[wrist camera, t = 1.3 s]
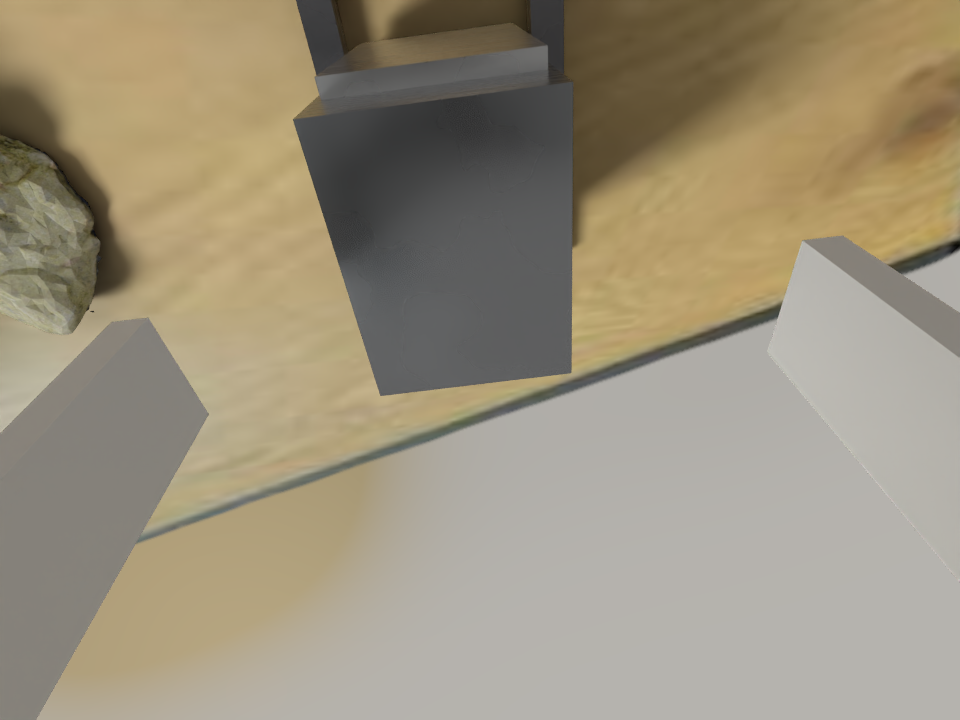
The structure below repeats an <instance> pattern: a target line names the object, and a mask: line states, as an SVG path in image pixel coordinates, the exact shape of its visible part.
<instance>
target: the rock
mask: <svg viewBox="0 0 960 720" xmlns="http://www.w3.org/2000/svg"><path fill="white" fill-rule="evenodd" d="M57 166H58V165H57V163H56V162H55V163H54V161H52V160H51V159H50V158H49V157H48V156H47V154H46V153H45V152H41V151H40V150H39V149H35V148H32V147H30V146H28V145H26V144H24V143H22V142H21V141H19V140H15V139H10V138H7V137H5V136H2V135H0V313H2V314H5V315H7V316H9V317H11V318H13V319H15V320H17V321H19V322H22V323H24V324H27V325H30V326H33V327H37V328H38V329H40V330H42V331H44V332H47V333H53V334H59V335H65V334H71V333H73V331H74V330H75V329H76V327H77V326H78V324H79V323H80V321H81V319H82V318H83V316H84V314H85V312H86V311H87V310H89V305H90V304H91V302H92V299H93V297H94V292H95V284H96V280H97V274H98V271H99V269H98V265H97V264H98V262H99V261H100V260H101V257H100V256H98V255H97V254H98V252H99V251H100V243H101V242H100V241H99V239H98V238H96V234H95V231H94V230H93V225H94V220H95V219H94V217H93V213H92V211H91V209H90V206H88V202H86V201H85V200H84V199H83V198H82V197H80V196H79V195H78V194H77V193H76V191H75V190H74V189H73V188H72V187H71V186H70V184H69V182H68V180H67V178H66V176H65V175H64V174H63V171H61V170H58V167H57ZM90 312H94V311H90Z"/></svg>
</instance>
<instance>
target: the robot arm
mask: <svg viewBox="0 0 960 720" xmlns="http://www.w3.org/2000/svg"><path fill="white" fill-rule="evenodd" d="M767 353H768V354H769V355H770V357H771V358H772V359H773V360H774V361H775V363H776V364H777V365H778V366H779V367H780V369H781V370H782V371H783V372H784V373H785V375H786V376H787V377H788V378H789V379H790V381H791V382H792V383H793V384H794V385H795V386H796V388H797V389H798V390H799V391H800V392H801V394H802V395H803V396H804V397H805V398H806V400H807V401H808V402H809V403H810V404H811V405H812V407H813V408H814V409H815V410H816V411H817V413H818V414H819V415H820V416H821V417H822V419H823V420H824V421H825V422H826V423H827V425H828V426H829V427H830V428H831V429H832V431H833V432H834V433H835V434H836V435H837V437H838V438H839V439H840V440H841V441H842V443H843V444H844V445H845V446H846V447H847V449H848V450H849V451H850V452H851V453H852V454H853V456H854V457H855V458H856V459H857V460H858V462H859V463H860V464H861V465H862V466H863V468H864V469H865V470H866V471H867V472H868V474H869V475H870V476H871V477H872V478H873V479H874V481H875V482H876V483H877V484H878V485H879V487H880V488H881V489H882V490H883V491H884V493H885V494H886V495H887V496H888V497H889V499H890V500H891V501H892V502H893V503H894V505H895V506H896V507H897V508H898V509H899V511H900V512H901V513H902V514H903V515H904V517H905V518H906V519H907V520H908V521H909V522H910V524H911V525H912V526H913V527H914V528H915V530H917V532H918V533H919V534H920V536H921V537H922V538H923V539H924V540H925V542H926V543H927V544H928V545H929V546H930V548H931V549H932V550H933V551H934V552H935V553H936V555H937V556H938V557H939V558H940V559H941V561H942V562H943V563H944V564H945V565H946V566H947V568H948V569H949V570H950V571H951V573H952V574H953V575H954V576H955V577H956V579H957V580H958V581H959V582H960V313H959V312H958V311H956V310H955V309H953V308H952V307H950V306H949V305H947V304H945V303H944V302H942V301H941V300H939V299H938V298H936V297H935V296H933V295H932V294H930V293H929V292H927V291H926V290H924V289H923V288H921V287H920V286H918V285H917V284H915V283H914V282H912V281H911V280H909V279H908V278H906V277H905V276H903V275H902V274H900V273H899V272H897V271H896V270H894V269H892V268H891V267H889V266H888V265H886V264H885V263H883V262H882V261H880V260H879V259H877V258H876V257H874V256H873V255H871V254H870V253H868V252H867V251H865V250H864V249H862V248H861V247H859V246H858V245H856V244H855V243H853V242H852V241H850V240H849V239H847V238H845V237H844V236H835V237H827V238H818V239H810V240H802V243H801V247H800V250H799V253H798V256H797V259H796V262H795V266H794V269H793V272H792V275H791V278H790V282H789V285H788V288H787V291H786V294H785V297H784V301H783V304H782V307H781V310H780V313H779V316H778V320H777V323H776V326H775V329H774V332H773V336H772V339H771V342H770V345H769V348H768V352H767ZM208 415H209V414H208V412H207V411H206V409H205V408H204V406H203V404H202V403H201V401H200V400H199V398H198V396H197V395H196V393H195V392H194V390H193V388H192V387H191V385H190V384H189V382H188V380H187V379H186V377H185V376H184V374H183V372H182V371H181V369H180V368H179V366H178V364H177V363H176V361H175V360H174V358H173V357H172V355H171V353H170V352H169V350H168V349H167V347H166V345H165V344H164V342H163V341H162V339H161V337H160V336H159V334H158V333H157V331H156V329H155V328H154V326H153V325H152V323H151V321H150V320H149V318H141V319H132V320H124V321H115V322H111V323H110V324H109V325H108V326H107V327H106V328H105V329H104V330H103V331H102V332H101V333H100V334H99V335H98V336H97V337H96V338H95V339H94V340H93V341H92V342H91V343H90V344H89V345H88V346H87V347H86V348H85V349H84V350H83V351H82V352H81V353H80V354H79V355H78V356H77V357H76V358H75V359H74V360H73V361H72V362H71V363H70V364H69V365H68V366H67V367H66V368H65V369H64V370H63V371H62V372H61V373H60V374H59V375H58V376H57V377H56V378H55V379H54V380H53V381H52V382H51V383H50V384H49V385H48V386H47V387H46V388H45V389H44V390H43V391H42V392H41V393H40V394H39V395H38V396H37V397H36V398H35V399H34V400H33V401H32V402H31V403H30V404H29V405H28V406H27V407H26V408H25V409H24V410H23V411H22V412H21V413H20V414H19V415H18V416H17V417H16V418H15V419H14V420H13V421H12V422H11V423H10V424H9V425H8V426H7V427H6V428H5V429H4V430H3V431H2V432H1V433H0V720H36V719H37V717H38V715H39V714H40V712H41V710H42V708H43V707H44V705H45V703H46V701H47V699H48V697H49V696H50V694H51V692H52V691H53V689H54V687H55V685H56V683H57V682H58V680H59V678H60V677H61V675H62V673H63V671H64V669H65V668H66V666H67V664H68V662H69V661H70V659H71V657H72V655H73V653H74V652H75V650H76V648H77V646H78V645H79V643H80V641H81V639H82V638H83V636H84V634H85V632H86V631H87V629H88V627H89V625H90V623H91V621H92V620H93V618H94V616H95V614H96V613H97V611H98V609H99V607H100V606H101V604H102V602H103V600H104V599H105V597H106V595H107V593H108V592H109V590H110V588H111V586H112V584H113V583H114V581H115V579H116V577H117V576H118V574H119V572H120V570H121V569H122V567H123V565H124V563H125V562H126V560H127V558H128V556H129V555H130V553H131V551H132V549H133V547H134V546H135V544H136V542H137V540H138V539H139V537H140V535H141V533H142V532H143V530H144V528H145V526H146V524H147V523H148V521H149V519H150V517H151V516H152V514H153V512H154V510H155V509H156V507H157V505H158V503H159V501H160V500H161V498H162V496H163V494H164V493H165V491H166V489H167V487H168V486H169V484H170V482H171V480H172V478H173V477H174V475H175V473H176V471H177V470H178V468H179V466H180V464H181V463H182V461H183V459H184V457H185V455H186V454H187V452H188V450H189V448H190V447H191V445H192V443H193V441H194V440H195V438H196V436H197V434H198V433H199V431H200V429H201V427H202V425H203V424H204V422H205V420H206V418H207V417H208Z"/></svg>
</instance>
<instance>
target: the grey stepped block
mask: <svg viewBox="0 0 960 720" xmlns="http://www.w3.org/2000/svg"><path fill="white" fill-rule="evenodd" d="M315 80H316V84H317V87H318V91H319V96H318V97H317V98H316V99H315V100H314V101H313V102H312V103H310V104H309V105H308V106H307V107H306V108H305V109H304V110H303V111H302V112H301V113H299V114H298V115H297V116H296V117H295V118H294V119H293V121H294V124H295V128H296V131H297V134H298V137H299V140H300V143H301V146H302V150H303V153H304V156H305V159H306V162H307V165H308V169H309V172H310V175H311V178H312V181H313V184H314V188H315V191H316V194H317V197H318V200H319V203H320V206H321V210H322V213H323V216H324V219H325V222H326V225H327V229H328V232H329V235H330V238H331V241H332V244H333V247H334V251H335V254H336V257H337V260H338V263H339V266H340V270H341V273H342V276H343V279H344V282H345V285H346V289H347V292H348V295H349V298H350V301H351V304H352V307H353V311H354V314H355V317H356V320H357V323H358V326H359V330H360V333H361V336H362V339H363V342H364V345H365V348H366V352H367V355H368V358H369V361H370V364H371V367H372V371H373V374H374V377H375V380H376V383H377V386H378V389H379V393H380V396H384V395H392V394H401V393H409V392H417V391H426V390H434V389H442V388H451V387H459V386H467V385H476V384H484V383H493V382H501V381H509V380H518V379H526V378H534V377H543V376H551V375H559V374H568V373H571V356H572V197H573V81H572V80H570V79H569V78H568V77H567V76H565V75H564V74H563V73H561V72H560V71H559V70H558V69H556V68H555V67H554V66H553V65H551V64H550V63H549V62H548V45H546V44H545V43H543V42H542V41H540V40H538V39H537V38H535V37H534V36H532V35H531V34H529V33H527V32H526V31H524V30H523V29H521V28H520V27H518V26H516V25H515V24H513V23H505V24H497V25H490V26H483V27H476V28H468V29H461V30H454V31H446V32H439V33H432V34H425V35H417V36H410V37H403V38H395V39H388V40H381V41H374V42H366V43H360V44H359V45H358V46H356V47H355V48H353V49H352V50H351V51H349V52H348V53H347V54H345V55H344V56H343V57H341V58H340V59H338V60H337V61H336V62H334V63H333V64H332V65H330V66H329V67H328V68H326V69H325V70H323V71H322V72H321V73H319V74H318V75H317V76H315Z"/></svg>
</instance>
